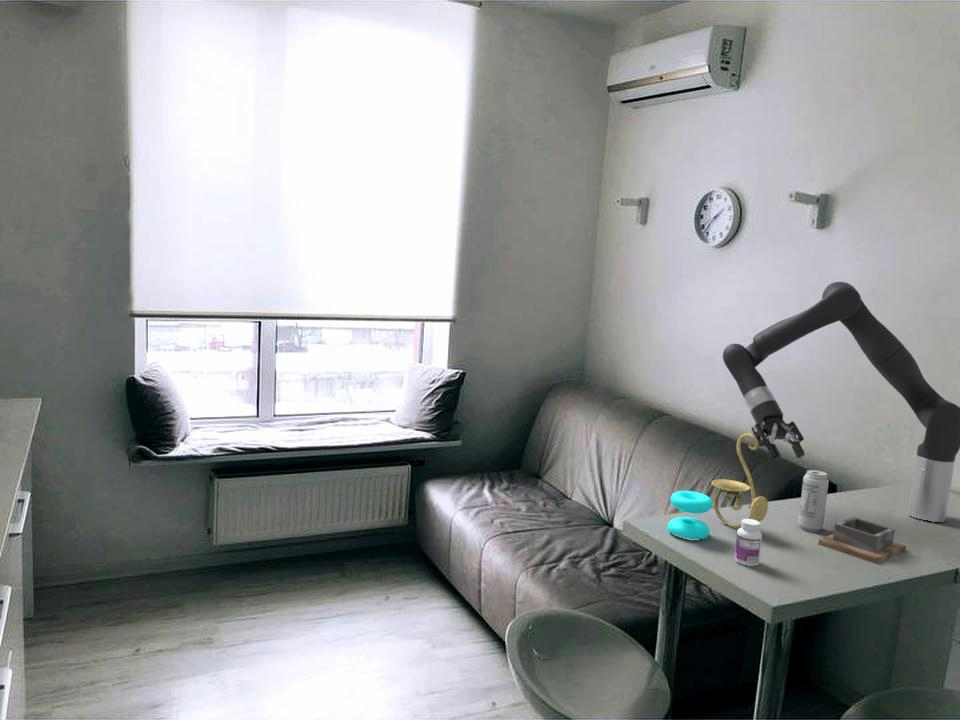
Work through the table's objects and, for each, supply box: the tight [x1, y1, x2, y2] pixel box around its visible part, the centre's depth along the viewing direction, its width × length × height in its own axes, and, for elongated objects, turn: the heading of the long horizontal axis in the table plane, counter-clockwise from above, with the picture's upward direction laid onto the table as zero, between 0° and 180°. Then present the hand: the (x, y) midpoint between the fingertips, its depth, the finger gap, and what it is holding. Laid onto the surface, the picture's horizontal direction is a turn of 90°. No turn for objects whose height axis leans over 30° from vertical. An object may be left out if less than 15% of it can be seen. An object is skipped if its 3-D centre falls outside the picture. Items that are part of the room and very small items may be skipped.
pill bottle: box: [734, 518, 763, 567], centre depth 180 cm, size 5×5×10 cm
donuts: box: [667, 490, 714, 540], centre depth 195 cm, size 10×10×10 cm
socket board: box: [818, 516, 907, 564], centre depth 195 cm, size 16×14×5 cm
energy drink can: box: [797, 469, 830, 533], centre depth 206 cm, size 6×6×15 cm
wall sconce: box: [711, 432, 769, 529], centre depth 202 cm, size 14×10×25 cm
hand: (789, 457), depth 213 cm, fingers open, 8 cm apart
